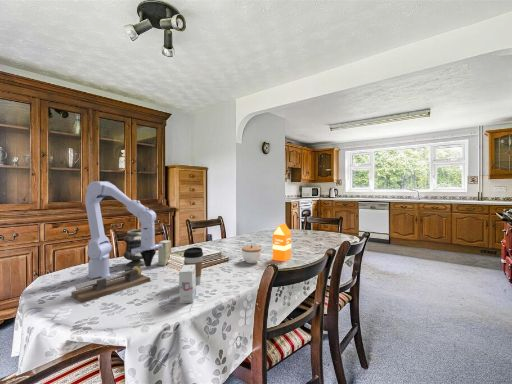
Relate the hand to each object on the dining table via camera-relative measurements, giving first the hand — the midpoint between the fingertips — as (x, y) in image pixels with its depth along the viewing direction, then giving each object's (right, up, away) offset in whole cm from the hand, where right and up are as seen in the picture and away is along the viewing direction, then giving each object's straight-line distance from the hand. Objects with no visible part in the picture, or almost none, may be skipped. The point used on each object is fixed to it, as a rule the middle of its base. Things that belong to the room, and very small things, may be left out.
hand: (147, 266), depth 123 cm
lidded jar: (+47, -5, +26) cm, 54 cm away
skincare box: (+1, -5, +21) cm, 22 cm away
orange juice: (+65, -5, +33) cm, 73 cm away
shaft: (-10, -3, -13) cm, 17 cm away
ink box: (+24, -6, -21) cm, 33 cm away
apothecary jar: (-14, -5, +20) cm, 25 cm away
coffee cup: (+22, -6, -7) cm, 24 cm away
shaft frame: (-9, -6, -12) cm, 16 cm away
